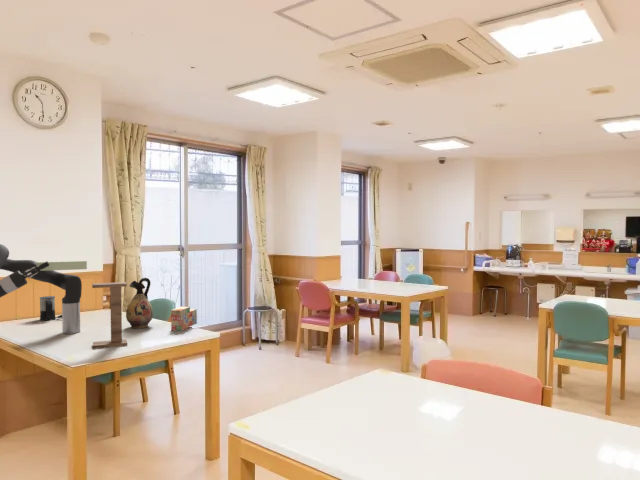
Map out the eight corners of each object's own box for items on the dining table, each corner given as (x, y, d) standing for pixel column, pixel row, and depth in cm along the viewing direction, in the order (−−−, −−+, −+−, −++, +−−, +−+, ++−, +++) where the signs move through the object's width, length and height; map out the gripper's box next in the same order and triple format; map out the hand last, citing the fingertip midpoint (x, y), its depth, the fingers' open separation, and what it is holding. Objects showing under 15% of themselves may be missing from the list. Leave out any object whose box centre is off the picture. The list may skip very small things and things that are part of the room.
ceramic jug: (131, 330, 291) (131, 279, 290) (122, 326, 303) (121, 277, 302) (159, 326, 302) (159, 277, 301) (149, 323, 314) (149, 275, 313)
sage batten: (37, 270, 243) (36, 262, 243) (86, 268, 252) (86, 260, 252) (36, 270, 240) (36, 262, 240) (86, 269, 250) (86, 261, 250)
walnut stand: (93, 344, 258) (92, 283, 257) (126, 341, 264) (125, 281, 263) (93, 348, 249) (92, 285, 248) (127, 345, 256) (126, 283, 255)
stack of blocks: (187, 323, 314) (187, 303, 313) (197, 323, 312) (196, 304, 312) (171, 330, 293) (170, 309, 292) (180, 330, 291) (180, 310, 291)
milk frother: (36, 319, 324) (36, 297, 324) (61, 316, 337) (60, 294, 337) (47, 322, 316) (47, 299, 316) (72, 318, 329) (71, 296, 328)
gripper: (6, 276, 231) (42, 257, 237) (10, 274, 243) (45, 255, 249) (16, 290, 232) (52, 270, 238) (19, 286, 245) (53, 268, 251)
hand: (48, 263), depth 244 cm, fingers closed on sage batten, 3 cm apart
